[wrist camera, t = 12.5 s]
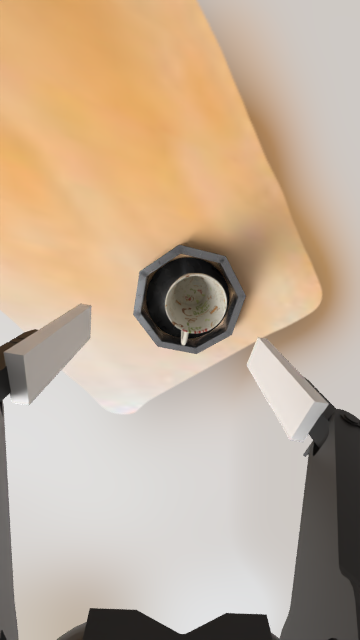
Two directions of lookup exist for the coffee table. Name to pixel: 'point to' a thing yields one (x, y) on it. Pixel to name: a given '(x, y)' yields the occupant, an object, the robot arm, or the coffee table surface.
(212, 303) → the mug
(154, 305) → the gray octagonal container
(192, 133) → the coffee table surface
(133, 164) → the coffee table surface
